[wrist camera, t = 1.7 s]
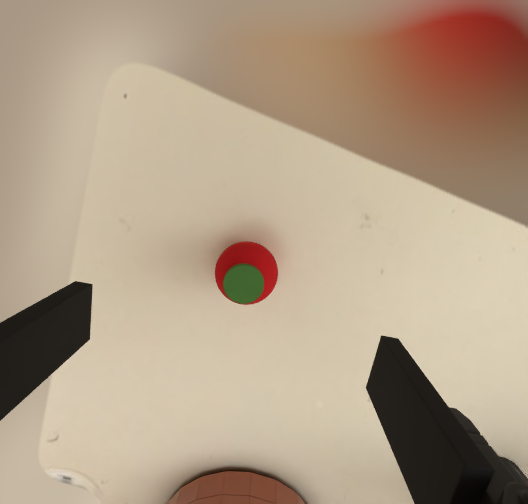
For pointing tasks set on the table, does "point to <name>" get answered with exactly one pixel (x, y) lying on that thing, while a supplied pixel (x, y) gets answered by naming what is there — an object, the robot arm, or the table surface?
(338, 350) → the table surface
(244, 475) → the bowl
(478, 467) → the robot arm
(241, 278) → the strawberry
